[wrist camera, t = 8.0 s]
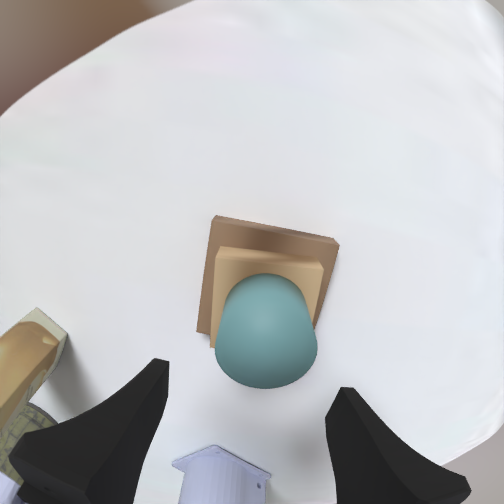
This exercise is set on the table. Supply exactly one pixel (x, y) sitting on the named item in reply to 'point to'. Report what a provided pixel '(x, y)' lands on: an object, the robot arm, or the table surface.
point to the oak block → (256, 262)
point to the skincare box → (26, 362)
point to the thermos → (24, 422)
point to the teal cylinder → (265, 333)
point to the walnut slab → (262, 239)
